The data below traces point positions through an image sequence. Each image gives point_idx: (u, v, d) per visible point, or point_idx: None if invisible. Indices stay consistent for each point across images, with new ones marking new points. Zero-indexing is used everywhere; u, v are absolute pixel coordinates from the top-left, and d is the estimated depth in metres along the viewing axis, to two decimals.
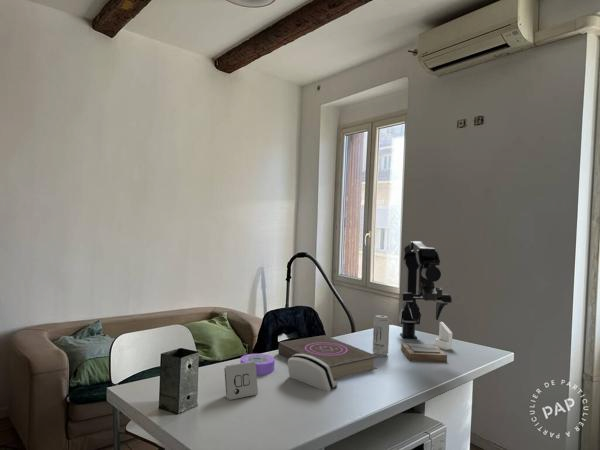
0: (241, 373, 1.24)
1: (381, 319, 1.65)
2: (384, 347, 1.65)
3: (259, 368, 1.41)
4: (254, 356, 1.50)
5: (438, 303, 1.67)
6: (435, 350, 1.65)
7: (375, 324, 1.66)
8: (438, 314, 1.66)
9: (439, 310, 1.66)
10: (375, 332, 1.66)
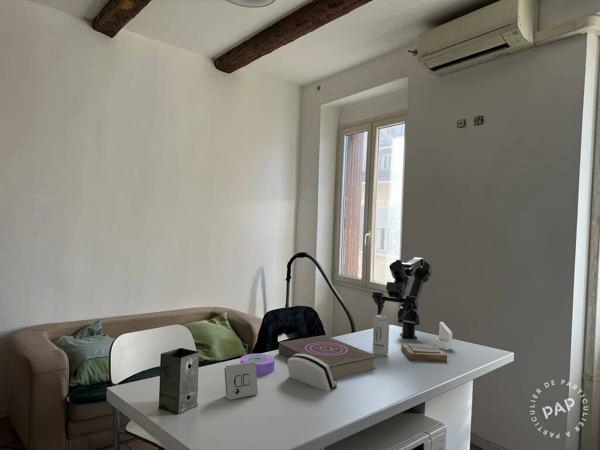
0: (241, 373, 1.24)
1: (381, 319, 1.65)
2: (384, 347, 1.65)
3: (259, 368, 1.41)
4: (254, 356, 1.50)
5: None
6: (435, 350, 1.65)
7: (375, 324, 1.66)
8: (401, 312, 1.72)
9: (403, 309, 1.73)
10: (375, 332, 1.66)
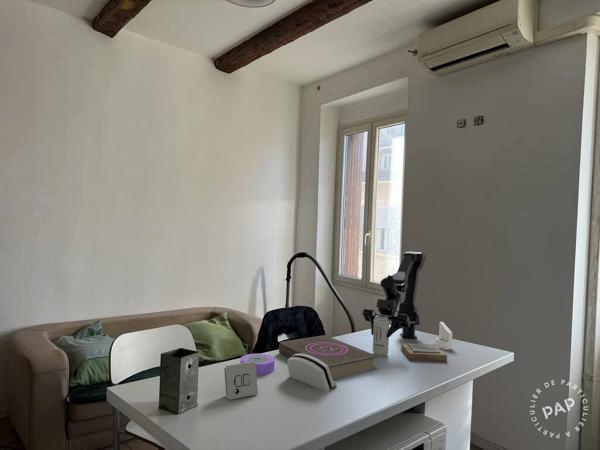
0: (241, 373, 1.24)
1: (381, 319, 1.65)
2: (384, 347, 1.65)
3: (259, 368, 1.41)
4: (254, 356, 1.50)
5: None
6: (435, 350, 1.65)
7: (375, 324, 1.66)
8: (389, 331, 1.65)
9: (390, 327, 1.66)
10: (375, 332, 1.66)
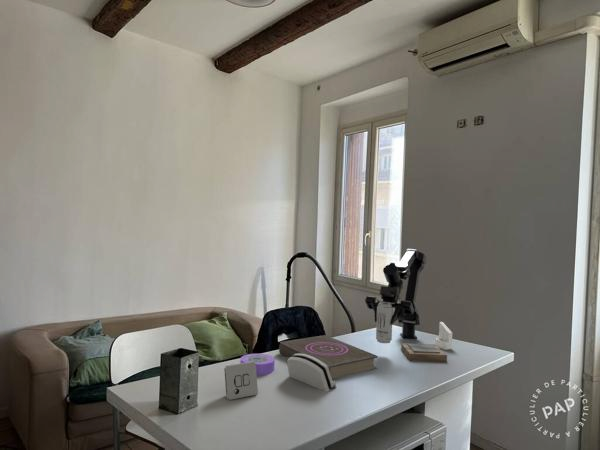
0: (241, 373, 1.24)
1: (385, 306, 1.65)
2: (387, 334, 1.65)
3: (259, 368, 1.41)
4: (254, 356, 1.50)
5: None
6: (435, 350, 1.65)
7: (379, 311, 1.66)
8: (392, 317, 1.65)
9: (394, 314, 1.66)
10: (379, 319, 1.66)
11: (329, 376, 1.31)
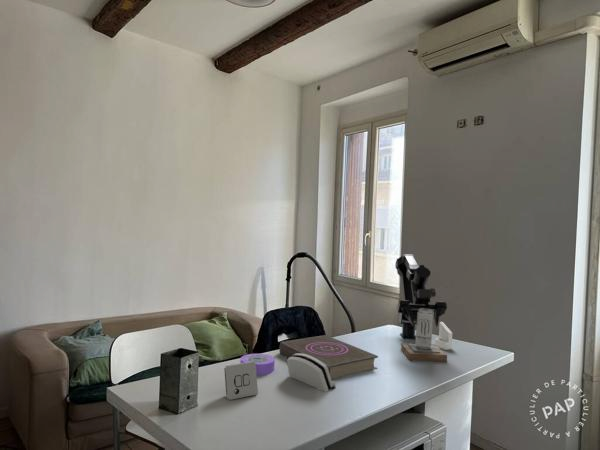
0: (241, 373, 1.24)
1: (429, 312, 1.66)
2: (430, 340, 1.67)
3: (259, 368, 1.41)
4: (254, 356, 1.50)
5: (435, 312, 1.71)
6: (435, 350, 1.65)
7: (423, 318, 1.66)
8: (437, 319, 1.68)
9: (437, 315, 1.69)
10: (423, 326, 1.66)
11: (328, 376, 1.31)
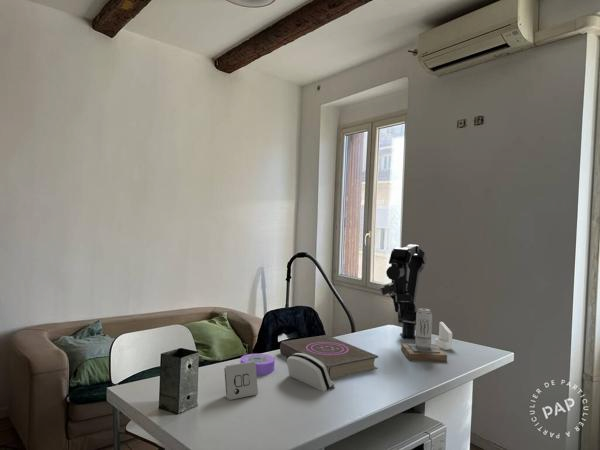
0: (241, 373, 1.24)
1: (428, 312, 1.66)
2: (430, 340, 1.67)
3: (259, 368, 1.41)
4: (254, 356, 1.50)
5: None
6: (435, 350, 1.65)
7: (422, 318, 1.66)
8: (399, 311, 1.76)
9: (399, 307, 1.76)
10: (422, 326, 1.66)
11: (327, 376, 1.31)
